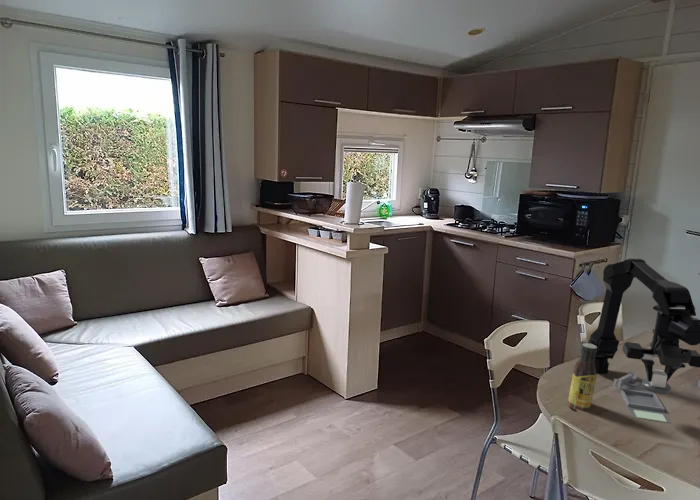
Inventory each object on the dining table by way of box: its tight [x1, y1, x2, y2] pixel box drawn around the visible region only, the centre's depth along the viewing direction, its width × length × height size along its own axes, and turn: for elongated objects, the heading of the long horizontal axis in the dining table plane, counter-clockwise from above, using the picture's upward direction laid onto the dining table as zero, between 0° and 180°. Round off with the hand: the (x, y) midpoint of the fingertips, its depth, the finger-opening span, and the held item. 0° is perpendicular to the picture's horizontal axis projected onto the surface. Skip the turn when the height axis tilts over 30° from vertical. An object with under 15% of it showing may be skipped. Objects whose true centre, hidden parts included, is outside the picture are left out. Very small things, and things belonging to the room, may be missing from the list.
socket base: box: [613, 377, 672, 424], centre depth 157 cm, size 10×25×2 cm, turn 165°
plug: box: [641, 368, 672, 395], centre depth 144 cm, size 7×7×5 cm
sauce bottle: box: [567, 342, 598, 411], centre depth 151 cm, size 7×6×20 cm
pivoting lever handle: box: [613, 370, 638, 388], centre depth 164 cm, size 3×11×3 cm, turn 126°
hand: (656, 382), depth 144 cm, fingers closed on plug, 3 cm apart
